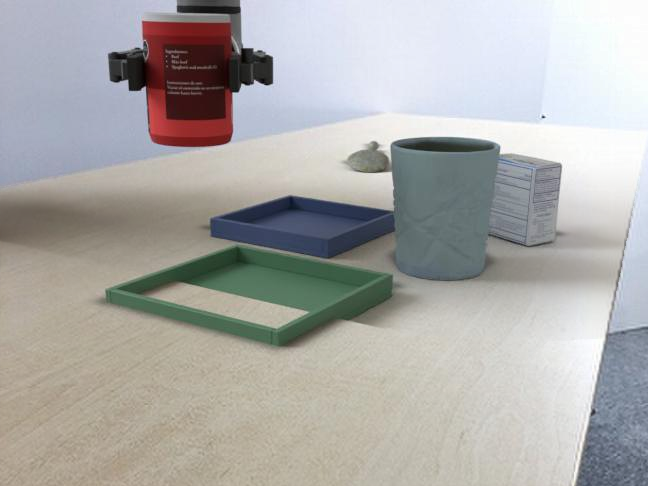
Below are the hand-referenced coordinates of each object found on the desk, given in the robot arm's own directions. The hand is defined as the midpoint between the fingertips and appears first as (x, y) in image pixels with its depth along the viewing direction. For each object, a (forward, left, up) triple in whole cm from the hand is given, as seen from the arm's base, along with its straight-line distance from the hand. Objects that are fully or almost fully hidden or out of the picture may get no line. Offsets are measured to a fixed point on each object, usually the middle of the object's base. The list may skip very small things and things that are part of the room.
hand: (183, 75), depth 72 cm
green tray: (+9, -2, -18) cm, 20 cm away
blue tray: (-1, +21, -18) cm, 27 cm away
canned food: (-3, +4, -6) cm, 8 cm away
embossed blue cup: (+17, +17, -18) cm, 30 cm away
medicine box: (+19, +33, -18) cm, 42 cm away
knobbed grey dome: (-19, +67, -18) cm, 72 cm away
